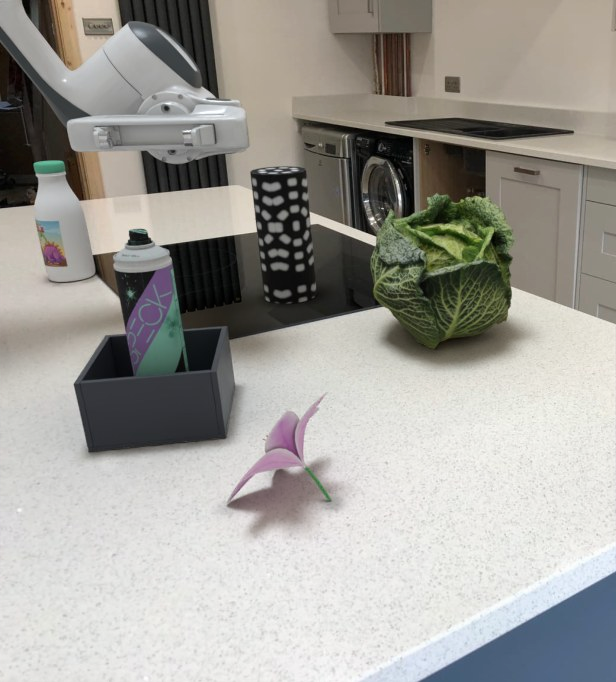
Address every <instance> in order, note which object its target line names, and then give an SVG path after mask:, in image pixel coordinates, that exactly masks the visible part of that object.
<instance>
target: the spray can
mask: <svg viewBox="0 0 616 682" xmlns="http://www.w3.org/2000/svg"><path fill="white" fill-rule="evenodd" d="M128 237H129V239H127V242H125V243H124V247H123V248H122V249H121V250H120V251H118V252H117V253H115V254H113V256H112V259H113V262H114V263H113V264H112V265H113V271H114V276H115V277H114V278H115V282H116V287H117V292H118V298H119V304H120V308H121V314H122V319H123V324H124V330H125V331H124V332H125V334H126V336H127V341H128V347H129V352H130V357H131V363H132V368H133V374H134V376H145V375H156V374H168V373H179V372H189V368H188V361H187V355H186V348H185V342H184V336H183V324H182V317H181V310H180V304H179V298H178V291H177V284H176V279H175V271H174V265H173V260H172V257H171V256H170V255H171V253H170V250H169V249H167V248H164V247H162V246H160V245H158V244H156V241H155V240H153V239H152V238H151V237H149V233H148V230H147V229H145V228H133V229H132V228H131V229H129V230H128Z"/></svg>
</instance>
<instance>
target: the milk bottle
mask: <svg viewBox="0 0 616 682" xmlns="http://www.w3.org/2000/svg"><path fill="white" fill-rule="evenodd" d="M33 169H34V172H35V177H36V178H37V183H38V185H37V192H36V196H35V199H34V205H33V214H34V215H33V216H34V221H35V227H36V232H37V237H38V241H39V246H40V250H41V253H42V254H41V255H42V259H43V264H44V269H45V272H46V276H47V278H48V279H49V281H51V282H58V283H64V282H65V283H66V282H67V283H68V282H75V281H81V280H85V279H89V278H91V277H93V276H94V275H95V274H96V265H95V261H94V256H93V250H92V245H91V239H90V234H89V230H88V225H87V220H86V217H85V213H84V209H83V206H82V203H81V202H80V199H79V198H78V197H77V195H76V194H75V192H74V191H73V190H72V188H71V187H70V185H69V183H68V181H67V178H66V175H67V172H66V165H65V162H64V161H63V160H43V161H42V160H41V161H36V162H34V163H33Z"/></svg>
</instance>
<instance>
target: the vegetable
mask: <svg viewBox="0 0 616 682" xmlns="http://www.w3.org/2000/svg"><path fill="white" fill-rule="evenodd" d="M426 202H427V208H426V209H423V210H420V211H418V212H417V211H416V212H413V213H411V214H410V215H409V216H406V217H399V218H396V213H395V212H394V210H393V209H392V208H390V209H389V211H388V214H387V216H386V217H385V219H384V220H383V222H382V225H381V227H380V230H378V232H377V233H376V237H375V238H376V239H375V247H374V249H373V252H372V254H371V257H370V272H371V276H372V280H373V285H374V286H373V291H372V292H373V297H374V298H375V300H376V301H377V302H378V304H379V305H380V306H382V307H383V308H385V309H388V311H389V312H390V313H391V315H392V316H393V317H394V318H395V319H396V320H397V322H398V323H399V324H400V326H402V327H403V328H404V329H405V330H406V331H407V332H409V333H410V335H411V336H412V337H413V338H414V340H415V341H417V343H418V344H420V345H424V346H425V347H427V348H429V349H432V350H435V349H436V348H437V346H438V345H439V344H440V342H444V341H447V340H448V339H459V338H466V337H474V336H476V335H481V334H484V333H485V332H486V331H488V330H490V329H491V328H492V327H493V326H494V325H496V324H497V325H500V324H502V323H503V322H506V321H507V320H508V317H509V309H510V308H511V306H512V298H513V292H512V291H513V290H512V287H511V286H512V285H511V280H510V279H512V274H511V271H510V266H511V264H512V263H513V258H514V257H513V256H512V255H511V254H509V251H510V249H512V247H513V245H514V242H515V240H516V237H515V236H514V235H513V232H514V229H513V228H512V227H511V226H510V225H509V224H508V221H507V220H506V215H505V212H504V211H503V210H502V208H501V207H500V206H499V205H497V204H494V203H492V200H491V197H490V196H486V197H481V196H478V195H474V196H471V197H470V196H466V197H465V198H464V199H462V198H461V199H460V200H459V202H454V201H453V200H452V199H451V197H450V196H449V195H448V194H443V195H440V194H439V193H438V192H436V193H435V194H434V195H433V196H427V197H426Z"/></svg>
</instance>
